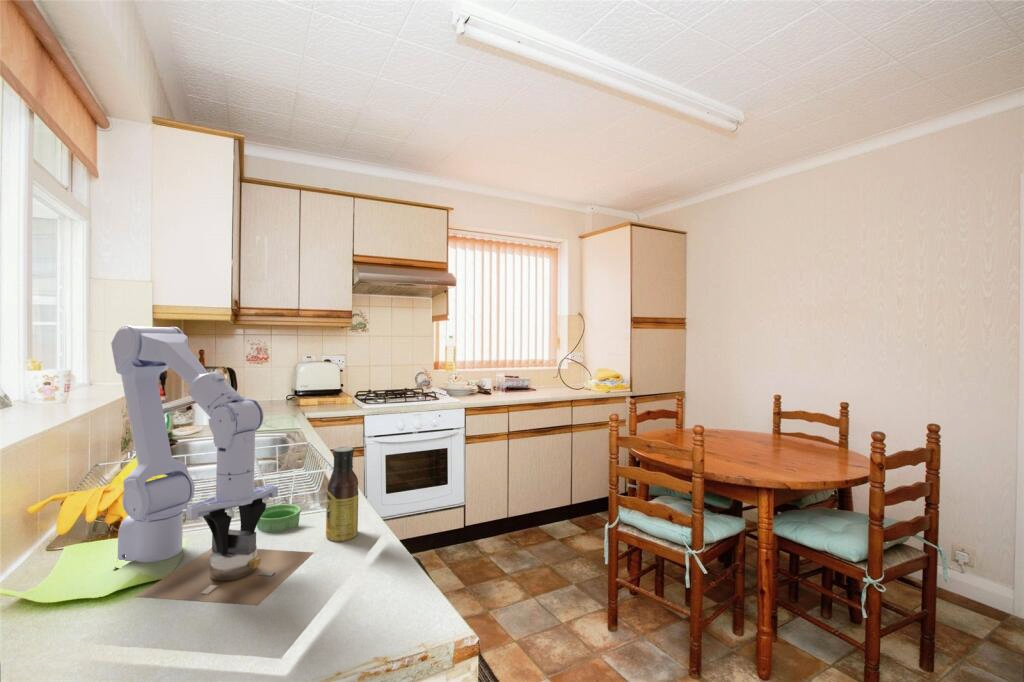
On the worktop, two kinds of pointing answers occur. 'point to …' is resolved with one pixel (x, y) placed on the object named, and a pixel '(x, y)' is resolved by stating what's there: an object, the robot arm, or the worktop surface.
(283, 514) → the ramekin
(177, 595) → the baseplate
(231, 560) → the silver rounded piece
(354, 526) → the sauce bottle
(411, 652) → the worktop surface
